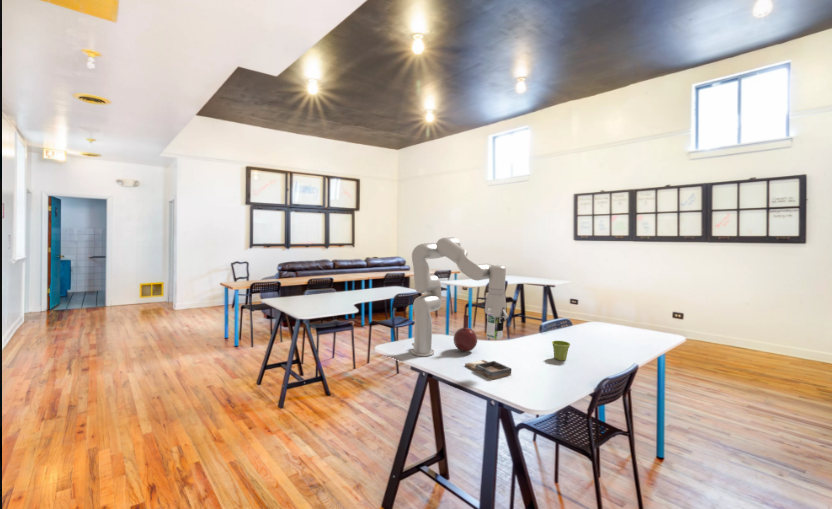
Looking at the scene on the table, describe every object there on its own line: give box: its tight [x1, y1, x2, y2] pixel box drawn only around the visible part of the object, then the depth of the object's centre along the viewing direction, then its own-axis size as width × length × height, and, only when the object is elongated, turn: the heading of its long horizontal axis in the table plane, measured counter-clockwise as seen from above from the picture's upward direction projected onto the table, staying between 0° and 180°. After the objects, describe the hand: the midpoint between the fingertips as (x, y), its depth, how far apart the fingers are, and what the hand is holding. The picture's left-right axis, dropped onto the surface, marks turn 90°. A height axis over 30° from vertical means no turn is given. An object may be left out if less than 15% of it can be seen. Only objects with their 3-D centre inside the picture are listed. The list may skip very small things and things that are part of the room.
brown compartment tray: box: [464, 359, 512, 380], centre depth 208 cm, size 20×12×3 cm, turn 32°
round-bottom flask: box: [453, 314, 478, 353], centre depth 236 cm, size 13×13×20 cm
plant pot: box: [551, 340, 571, 361], centre depth 228 cm, size 9×9×9 cm
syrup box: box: [485, 308, 504, 341], centre depth 202 cm, size 6×6×14 cm
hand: (495, 328), depth 202 cm, fingers closed on syrup box, 6 cm apart
